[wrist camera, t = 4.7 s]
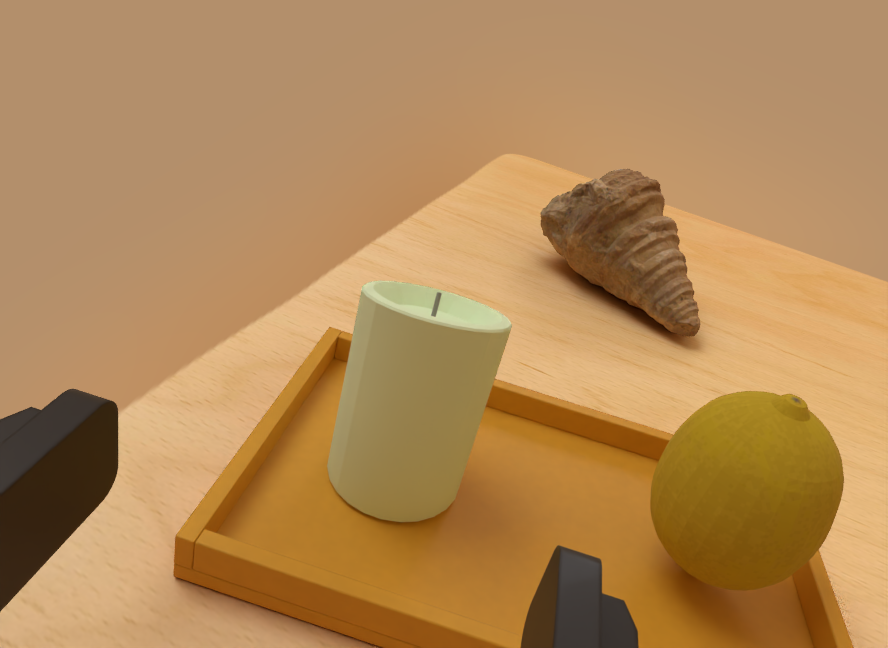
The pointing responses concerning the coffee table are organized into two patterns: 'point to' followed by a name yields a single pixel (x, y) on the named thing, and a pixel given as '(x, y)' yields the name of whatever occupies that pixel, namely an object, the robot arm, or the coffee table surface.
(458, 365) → the candle
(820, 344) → the coffee table surface
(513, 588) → the yellow tray
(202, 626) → the coffee table surface
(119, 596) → the coffee table surface
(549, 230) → the seashell
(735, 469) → the lemon
